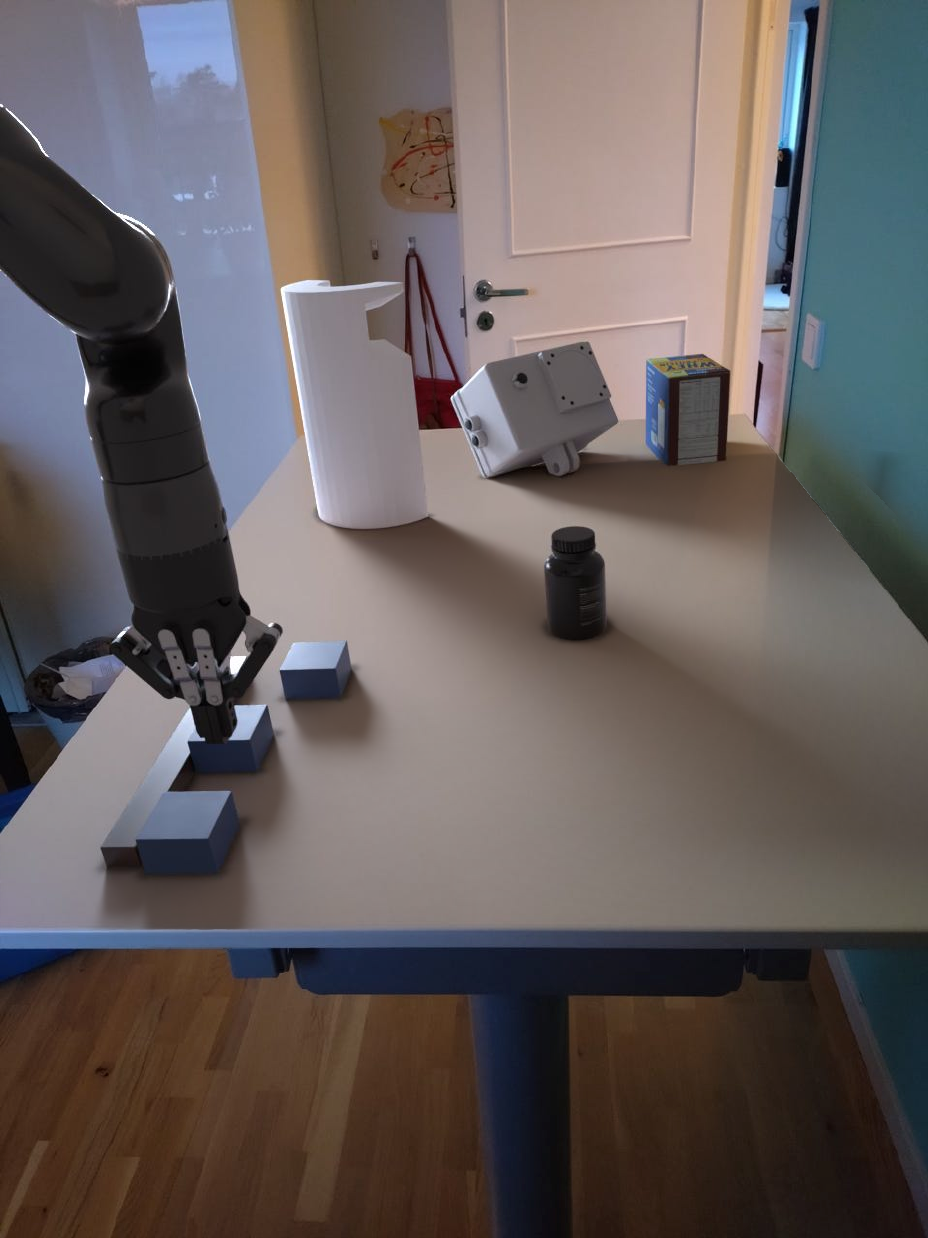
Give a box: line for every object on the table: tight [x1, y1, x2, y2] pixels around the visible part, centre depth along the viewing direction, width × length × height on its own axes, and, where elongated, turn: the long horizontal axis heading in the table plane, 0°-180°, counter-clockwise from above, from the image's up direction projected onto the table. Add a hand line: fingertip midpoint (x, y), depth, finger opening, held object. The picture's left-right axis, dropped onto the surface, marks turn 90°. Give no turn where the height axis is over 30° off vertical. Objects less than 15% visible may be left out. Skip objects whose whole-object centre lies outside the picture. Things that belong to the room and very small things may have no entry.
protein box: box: [645, 353, 732, 467], centre depth 155 cm, size 10×15×16 cm
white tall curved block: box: [280, 279, 429, 530], centre depth 136 cm, size 35×11×21 cm
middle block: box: [187, 704, 275, 774], centre depth 86 cm, size 6×6×4 cm
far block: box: [279, 640, 352, 700], centre depth 96 cm, size 6×6×4 cm
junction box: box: [450, 341, 619, 479], centre depth 153 cm, size 24×15×22 cm
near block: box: [135, 790, 241, 875], centre depth 74 cm, size 6×6×4 cm
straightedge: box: [99, 655, 248, 868], centre depth 86 cm, size 3×31×2 cm, turn 175°
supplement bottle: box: [543, 525, 608, 641], centre depth 101 cm, size 7×7×12 cm
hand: (220, 738), depth 70 cm, fingers closed
